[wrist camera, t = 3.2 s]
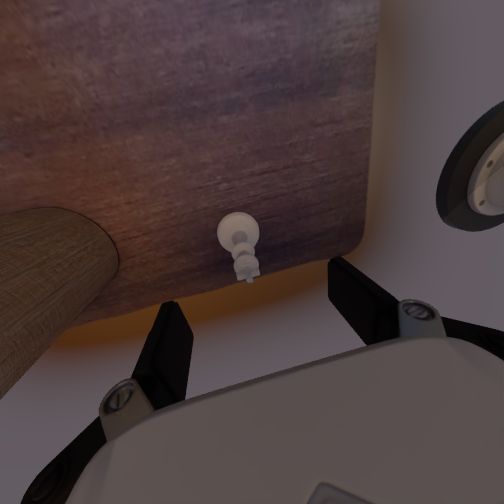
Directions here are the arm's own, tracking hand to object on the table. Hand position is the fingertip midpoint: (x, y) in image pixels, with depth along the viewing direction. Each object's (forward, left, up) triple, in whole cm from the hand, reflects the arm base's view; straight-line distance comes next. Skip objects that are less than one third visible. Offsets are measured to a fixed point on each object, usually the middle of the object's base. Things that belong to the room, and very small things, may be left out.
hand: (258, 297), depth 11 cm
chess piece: (0, 0, -12) cm, 12 cm away
